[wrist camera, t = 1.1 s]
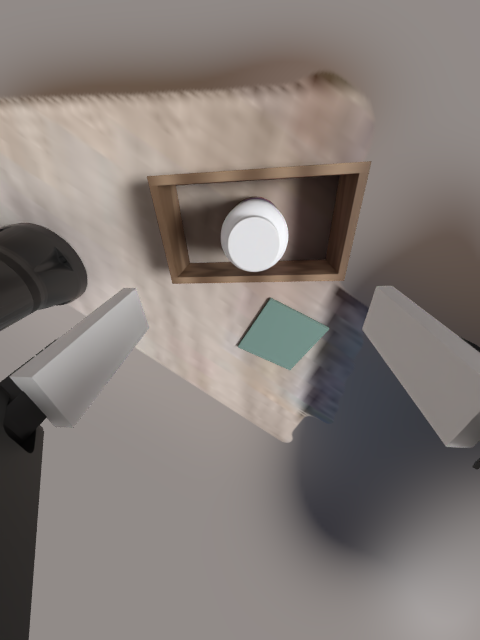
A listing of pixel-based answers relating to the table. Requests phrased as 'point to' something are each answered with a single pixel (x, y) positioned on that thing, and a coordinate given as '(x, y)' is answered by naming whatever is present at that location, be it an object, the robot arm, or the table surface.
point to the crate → (282, 271)
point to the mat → (282, 334)
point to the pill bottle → (254, 235)
